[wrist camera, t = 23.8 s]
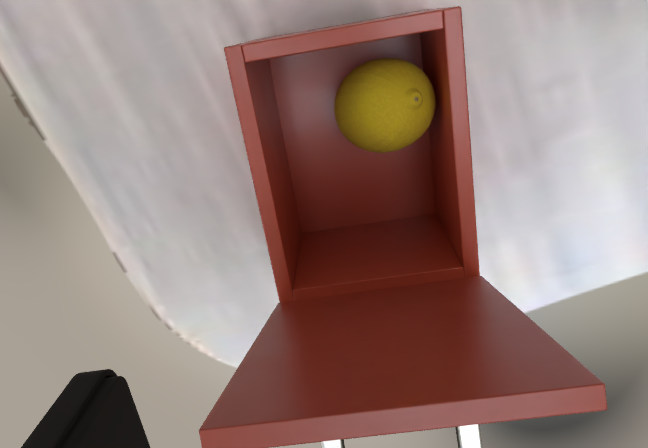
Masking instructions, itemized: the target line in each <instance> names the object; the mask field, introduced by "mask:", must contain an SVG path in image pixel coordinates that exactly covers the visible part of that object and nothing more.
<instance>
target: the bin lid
mask: <svg viewBox="0 0 648 448" xmlns="http://www.w3.org/2000/svg"><path fill="white" fill-rule="evenodd" d="M603 410H607V402H606V391H605V384H604V383H603V382H602V381H601V380H600V379H598V378H597V377H596V376H595V375H594V374H593V373H592V372H590V371H589V370H588V369H587V368H586V367H585V366H583V365H582V364H581V363H580V362H579V361H578V360H577V359H575V358H574V357H573V356H572V355H571V354H570V353H569V352H568V351H566V350H565V349H564V348H563V347H562V346H561V345H560V344H558V343H557V342H556V341H555V340H554V339H553V338H552V337H550V336H549V335H548V334H547V333H546V332H545V331H544V330H542V329H541V328H540V327H539V326H538V325H537V324H536V323H534V322H533V321H532V320H531V319H530V318H529V317H528V316H526V315H525V314H524V313H523V312H522V311H521V310H520V309H518V308H517V307H516V306H515V305H514V304H513V303H512V302H510V301H509V300H508V299H507V298H506V297H505V296H504V295H502V294H501V293H500V292H499V291H498V290H497V289H496V288H494V287H493V286H492V285H491V284H490V283H489V282H488V281H486V280H485V279H484V278H483V277H482V276H475V277H468V278H460V279H453V280H445V281H438V282H430V283H423V284H415V285H408V286H400V287H393V288H385V289H378V290H370V291H363V292H355V293H348V294H340V295H333V296H325V297H318V298H310V299H303V300H295V301H288V302H280V303H278V305H277V306H276V308H275V309H274V311H273V313H272V314H271V316H270V317H269V319H268V321H267V322H266V324H265V325H264V327H263V329H262V330H261V332H260V333H259V335H258V337H257V338H256V340H255V341H254V343H253V345H252V346H251V348H250V349H249V351H248V353H247V354H246V356H245V357H244V359H243V361H242V362H241V364H240V365H239V367H238V369H237V370H236V372H235V374H234V375H233V377H232V378H231V380H230V382H229V383H228V385H227V386H226V388H225V390H224V391H223V393H222V394H221V396H220V398H219V399H218V401H217V402H216V404H215V405H214V407H213V409H212V410H211V412H210V413H209V415H208V417H207V418H206V420H205V421H204V423H203V425H202V426H201V428H200V430H199V434H200V440H201V445H202V448H269V447H278V446H286V445H296V444H305V443H314V442H321V445H322V448H345V446H344V439H350V438H359V437H368V436H377V435H386V434H396V433H404V432H413V431H423V430H431V429H441V428H449V427H456V434H457V441H458V448H482V443H481V434H480V427H479V424H486V423H494V422H503V421H513V420H522V419H531V418H540V417H549V416H558V415H567V414H576V413H585V412H594V411H603Z"/></svg>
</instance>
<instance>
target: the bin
mask: <svg viewBox="0 0 648 448" xmlns="http://www.w3.org/2000/svg"><path fill="white" fill-rule="evenodd" d="M224 51H225V56H226V60H227V65H228V69H229V74H230V78H231V83H232V87H233V92H234V97H235V101H236V106H237V110H238V115H239V119H240V124H241V128H242V133H243V137H244V142H245V146H246V151H247V156H248V160H249V165H250V169H251V174H252V178H253V183H254V187H255V192H256V196H257V201H258V206H259V210H260V215H261V219H262V224H263V228H264V233H265V237H266V242H267V246H268V251H269V256H270V260H271V265H272V269H273V274H274V278H275V283H276V287H277V292H278V296H279V301H280V302H288V301H295V300H303V299H310V298H318V297H325V296H333V295H340V294H348V293H355V292H363V291H370V290H378V289H385V288H393V287H400V286H408V285H415V284H423V283H430V282H438V281H445V280H453V279H460V278H468V277H475V276H480V273H479V259H478V244H477V230H476V215H475V200H474V186H473V171H472V157H471V142H470V128H469V113H468V98H467V84H466V69H465V55H464V40H463V25H462V11H461V7H459V6H458V7H448V8H437V9H427V10H422V11H416V12H410V13H405V14H399V15H393V16H387V17H382V18H376V19H370V20H365V21H359V22H353V23H348V24H342V25H336V26H330V27H325V28H319V29H313V30H308V31H302V32H296V33H291V34H285V35H279V36H273V37H268V38H262V39H256V40H252V41H248V42H244V43H240V44H236V45H232V46H229V47H225V48H224ZM379 58H397V59H402V60H405V61H407V62H410V63H412V64H414V65H415V66H417V67H418V68H420V69H421V70H422V71H423V72H424V73H425V74H426V76H427V77H428V78H429V80H430V82H431V84H432V86H433V89H434V93H435V102H436V106H435V112H434V116H433V119H432V121H431V124H430V126H429V127H428V128H427V130H426V131H425V133H424V134H423V135H422V136H421V137H420V138H418V139H417V140H416V141H415V142H414V143H412V144H411V145H409V146H406V147H404V148H402V149H400V150H397V151H392V152H386V153H377V152H370V151H366V150H364V149H361V148H359V147H357V146H355V145H354V144H352V143H351V142H350V141H349V140H347V139H346V137H345V136H344V135H343V133H342V132H341V131H340V129H339V126H338V124H337V122H336V118H335V112H334V106H335V98H336V94H337V91H338V89H339V87H340V85H341V83H342V82H343V80H344V78H345V77H346V76H347V75H348V74H349V73H350V72H351V71H352V70H353V69H355V68H356V67H358V66H360V65H362V64H363V63H365V62H367V61H371V60H375V59H379Z"/></svg>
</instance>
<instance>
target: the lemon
mask: <svg viewBox="0 0 648 448" xmlns="http://www.w3.org/2000/svg"><path fill="white" fill-rule="evenodd" d="M435 106H436V102H435V93H434V89H433V86H432V84H431V82H430V80H429V78H428V77H427V76H426V74H425V73H424V72H423V71H422V70H421V69H420V68H418V67H417V66H415V65H414V64H412V63H410V62H407V61H405V60H402V59H397V58H379V59H375V60H371V61H367V62H365V63H363V64H362V65H360V66H358V67H356V68H355V69H353V70H352V71H351V72H350V73H349V74H348V75H347V76H346V77H345V78H344V80H343V82H342V83H341V85H340V87H339V89H338V91H337V94H336V98H335V106H334V112H335V118H336V122H337V124H338V126H339V129H340V131H341V132H342V133H343V135H344V136H345V137H346V139H347V140H349V141H350V142H351V143H352V144H354V145H355V146H357V147H359V148H361V149H364V150H366V151H370V152H377V153H386V152H392V151H397V150H400V149H402V148H404V147H406V146H409V145H411V144H412V143H414V142H415V141H416V140H417V139H418V138H420V137H421V136H422V135H423V134H424V133H425V131H426V130H427V128H428V127H429V126H430V124H431V121H432V119H433V116H434V112H435Z"/></svg>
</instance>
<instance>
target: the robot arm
mask: <svg viewBox="0 0 648 448" xmlns="http://www.w3.org/2000/svg"><path fill="white" fill-rule="evenodd" d="M21 448H150V446H149V443H148V440H147V437H146V435H145V431H144V429H143V426H142V423H141V420H140V418H139V415H138V412H137V409H136V406H135V403H134V401H133V398H132V395H131V393H130V389H129V387H128V384H127V382H126V380H125V378H124V377H122V376H117V375H116V373H115V372H114V371H113V370H110V369H107V370H99V371H91V372H83V373H78V374H76V375H75V376H74V377H73V378H72V379H71V381H70V382H69V384H68V385H67V386H66V388H65V389H64V390H63V392H62V393H61V394H60V396H59V397H58V398H57V400H56V401H55V403H54V404H53V405H52V407H51V408H50V409H49V411H48V412H47V413H46V415H45V416H44V418H43V419H42V420H41V421H40V423H39V424H38V425H37V427H36V428H35V429H34V431H33V432H32V434H31V435H30V436H29V438H28V439H27V440H26V442H25V443H24V444H23V446H22V447H21Z"/></svg>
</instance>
